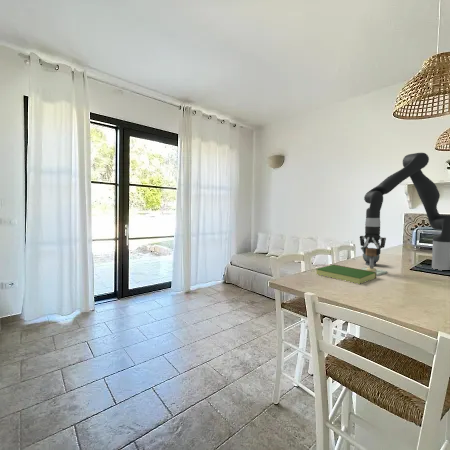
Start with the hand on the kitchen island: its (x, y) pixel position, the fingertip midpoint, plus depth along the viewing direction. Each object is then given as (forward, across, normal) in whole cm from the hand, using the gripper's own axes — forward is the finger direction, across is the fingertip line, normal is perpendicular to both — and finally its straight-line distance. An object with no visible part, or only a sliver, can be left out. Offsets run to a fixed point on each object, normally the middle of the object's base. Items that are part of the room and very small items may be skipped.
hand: (371, 254), depth 147 cm
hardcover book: (+11, +4, +21) cm, 24 cm away
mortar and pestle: (+11, +11, -20) cm, 25 cm away
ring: (+1, 0, 0) cm, 1 cm away
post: (+11, 0, 0) cm, 11 cm away
